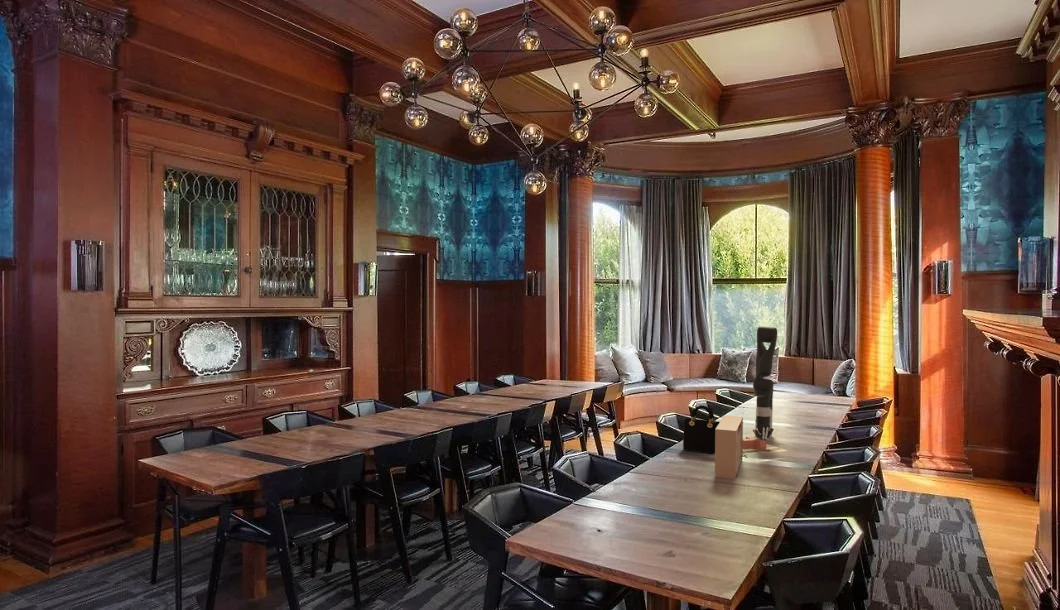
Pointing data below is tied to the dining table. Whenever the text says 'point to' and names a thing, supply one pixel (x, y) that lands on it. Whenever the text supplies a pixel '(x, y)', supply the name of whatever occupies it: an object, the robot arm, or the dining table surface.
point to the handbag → (700, 432)
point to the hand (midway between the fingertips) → (763, 445)
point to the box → (728, 446)
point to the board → (768, 450)
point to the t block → (754, 443)
